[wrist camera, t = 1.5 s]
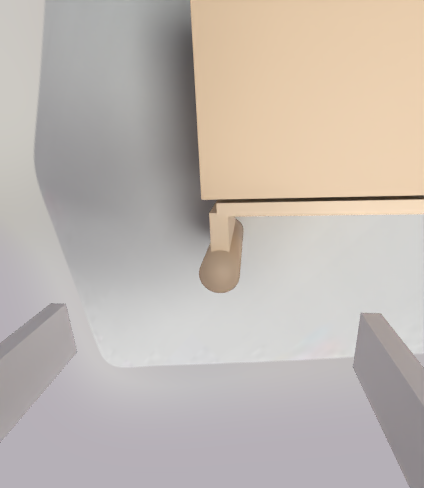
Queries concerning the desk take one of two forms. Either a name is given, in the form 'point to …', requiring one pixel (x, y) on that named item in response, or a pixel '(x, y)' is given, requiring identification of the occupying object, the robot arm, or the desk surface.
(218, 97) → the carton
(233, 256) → the flap
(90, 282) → the desk surface
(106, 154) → the desk surface
